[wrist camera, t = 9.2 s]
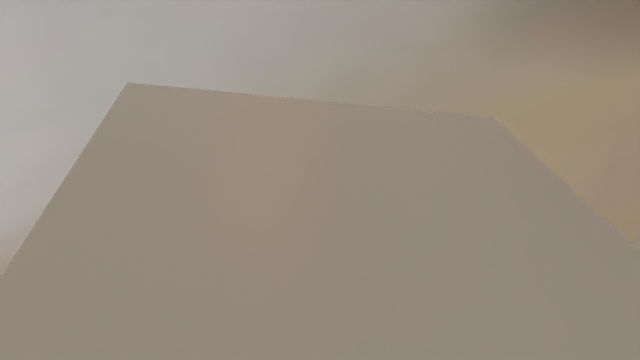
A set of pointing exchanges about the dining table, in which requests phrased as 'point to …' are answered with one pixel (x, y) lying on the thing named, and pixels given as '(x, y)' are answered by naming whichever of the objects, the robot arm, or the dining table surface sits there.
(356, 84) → the dining table surface
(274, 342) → the off-white matte cube
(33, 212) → the dining table surface
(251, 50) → the dining table surface
